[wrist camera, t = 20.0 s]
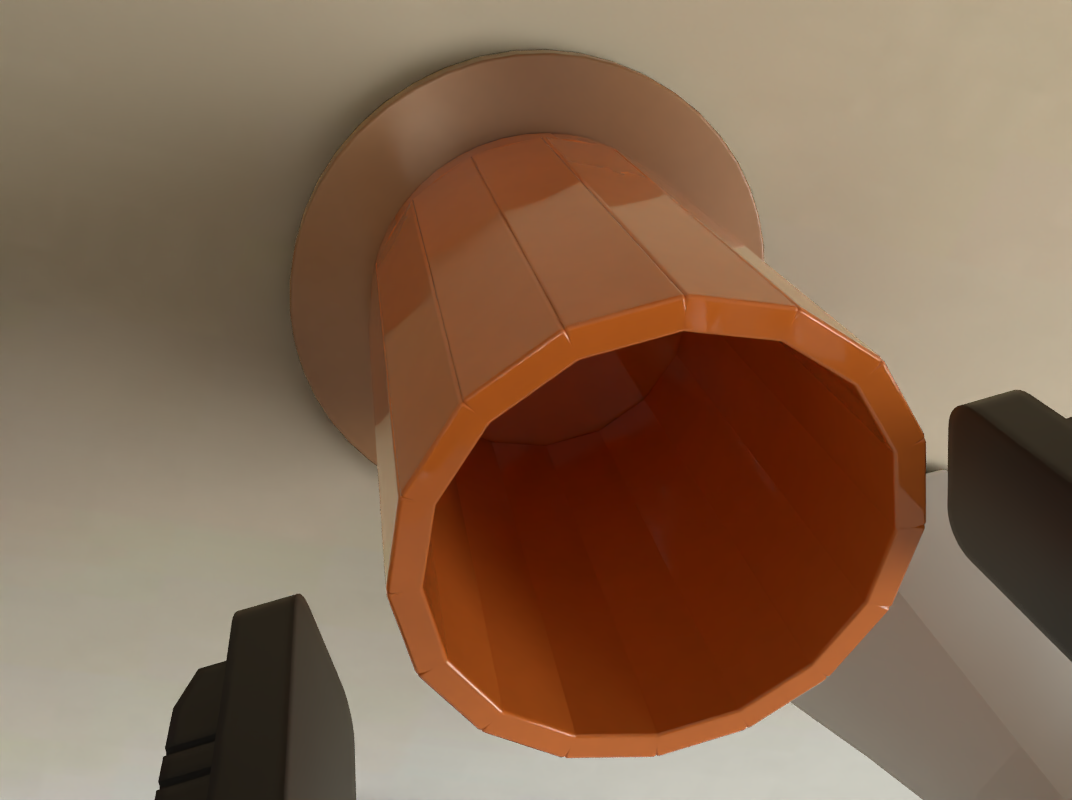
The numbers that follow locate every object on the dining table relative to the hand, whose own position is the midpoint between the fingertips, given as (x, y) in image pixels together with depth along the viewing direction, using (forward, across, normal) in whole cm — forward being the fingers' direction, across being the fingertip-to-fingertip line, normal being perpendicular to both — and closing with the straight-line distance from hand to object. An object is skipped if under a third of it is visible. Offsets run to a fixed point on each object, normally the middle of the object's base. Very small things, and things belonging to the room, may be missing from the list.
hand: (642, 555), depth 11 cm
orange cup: (+7, 0, 0) cm, 7 cm away
